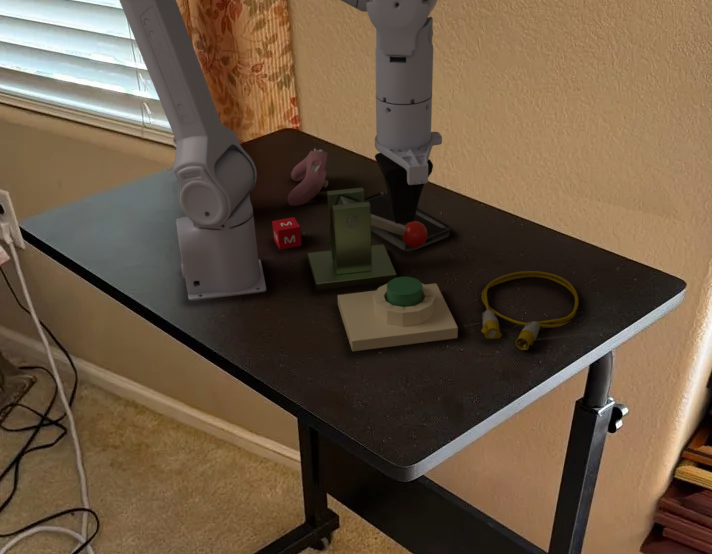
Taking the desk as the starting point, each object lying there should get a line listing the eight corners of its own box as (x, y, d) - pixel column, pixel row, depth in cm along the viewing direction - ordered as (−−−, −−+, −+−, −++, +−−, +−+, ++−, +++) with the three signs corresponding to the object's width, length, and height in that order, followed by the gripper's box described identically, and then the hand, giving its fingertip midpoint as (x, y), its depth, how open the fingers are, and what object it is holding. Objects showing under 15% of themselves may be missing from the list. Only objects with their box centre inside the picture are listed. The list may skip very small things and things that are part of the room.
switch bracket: (383, 252, 115) (383, 179, 108) (396, 282, 109) (396, 208, 102) (307, 261, 114) (302, 188, 107) (316, 292, 108) (311, 217, 101)
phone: (385, 190, 125) (453, 228, 116) (385, 198, 126) (453, 236, 117) (339, 206, 122) (406, 246, 113) (340, 214, 123) (406, 254, 114)
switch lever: (417, 243, 112) (428, 221, 110) (423, 255, 110) (434, 232, 108) (331, 214, 107) (341, 190, 105) (335, 226, 105) (345, 202, 103)
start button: (390, 310, 98) (390, 296, 97) (383, 292, 101) (383, 278, 100) (425, 305, 99) (426, 292, 97) (417, 288, 102) (417, 274, 100)
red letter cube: (295, 237, 118) (294, 217, 116) (301, 247, 116) (300, 226, 114) (274, 241, 118) (272, 221, 116) (280, 252, 116) (277, 230, 114)
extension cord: (437, 317, 103) (438, 302, 101) (525, 269, 110) (527, 254, 109) (518, 359, 96) (520, 344, 94) (606, 305, 103) (609, 290, 102)
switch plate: (352, 353, 98) (351, 327, 95) (338, 307, 105) (336, 281, 103) (457, 340, 99) (458, 313, 97) (436, 295, 106) (436, 269, 104)
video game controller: (314, 218, 126) (334, 175, 122) (284, 205, 125) (303, 161, 120) (317, 188, 133) (336, 147, 129) (289, 176, 132) (307, 133, 128)
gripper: (460, 117, 85) (454, 246, 94) (426, 68, 95) (423, 189, 104) (388, 123, 84) (389, 253, 93) (362, 74, 94) (365, 195, 104)
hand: (403, 220), depth 99 cm, fingers closed
